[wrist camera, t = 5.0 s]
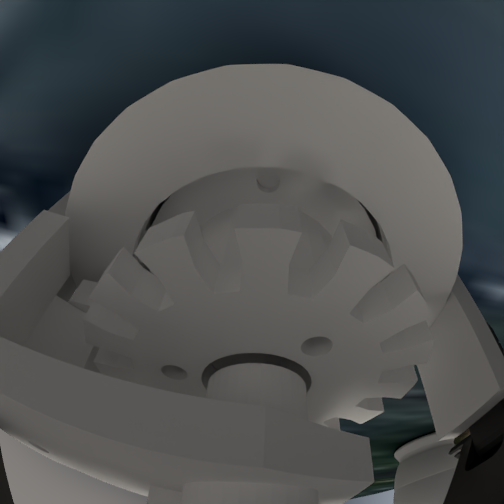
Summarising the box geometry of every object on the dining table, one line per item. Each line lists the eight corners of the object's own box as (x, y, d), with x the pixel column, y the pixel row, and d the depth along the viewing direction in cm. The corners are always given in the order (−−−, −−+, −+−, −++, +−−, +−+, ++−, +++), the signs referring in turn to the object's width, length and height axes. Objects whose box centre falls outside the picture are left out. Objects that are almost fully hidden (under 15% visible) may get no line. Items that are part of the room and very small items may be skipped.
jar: (369, 458, 31) (378, 559, 19) (428, 424, 25) (449, 545, 13) (421, 456, 33) (434, 541, 20) (475, 423, 27) (497, 519, 15)
